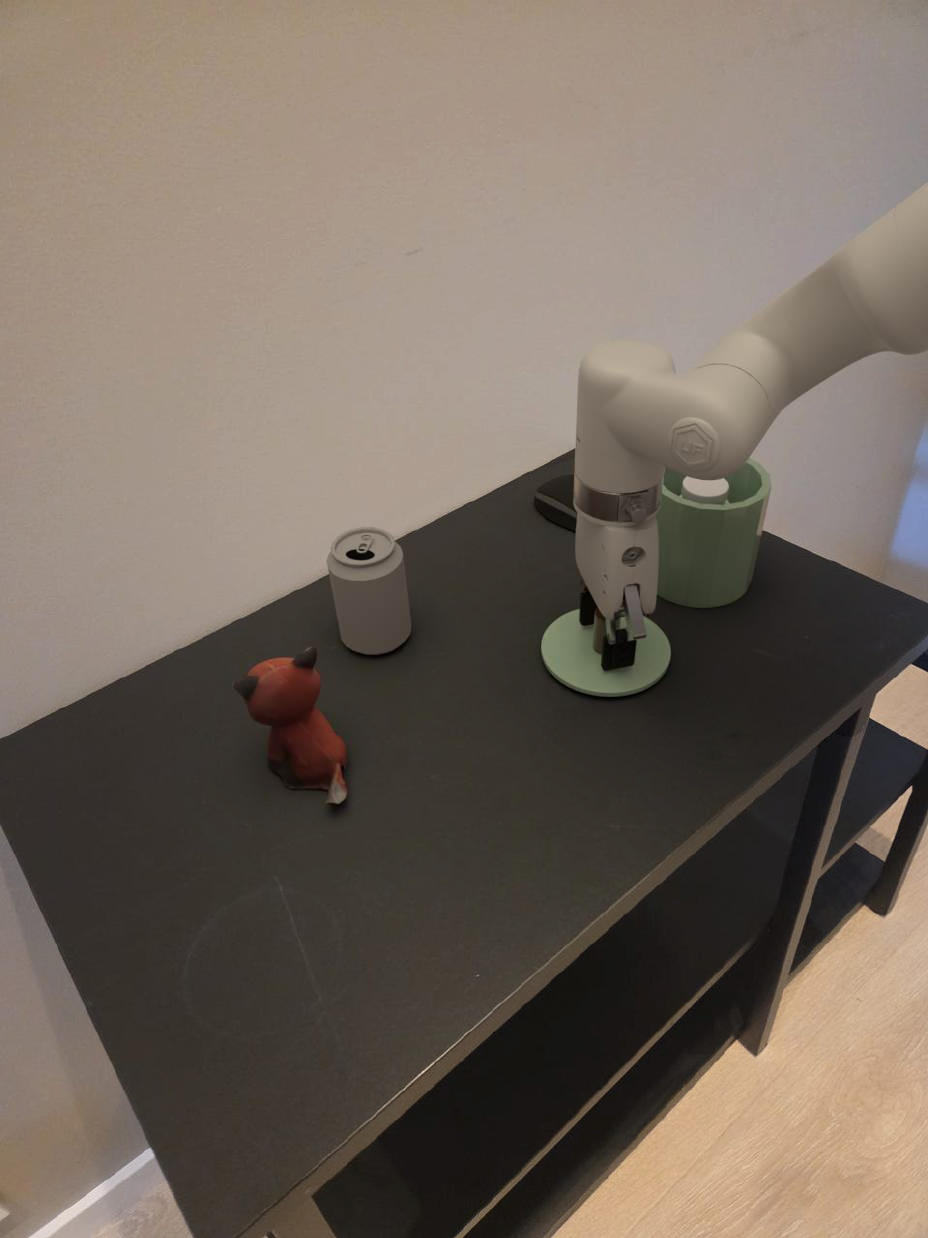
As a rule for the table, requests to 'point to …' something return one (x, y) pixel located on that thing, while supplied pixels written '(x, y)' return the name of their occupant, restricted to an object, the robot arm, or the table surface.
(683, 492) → the pill bottle
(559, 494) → the computer mouse
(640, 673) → the lid
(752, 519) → the pot
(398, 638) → the can
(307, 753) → the stuffed fox
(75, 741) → the table surface
